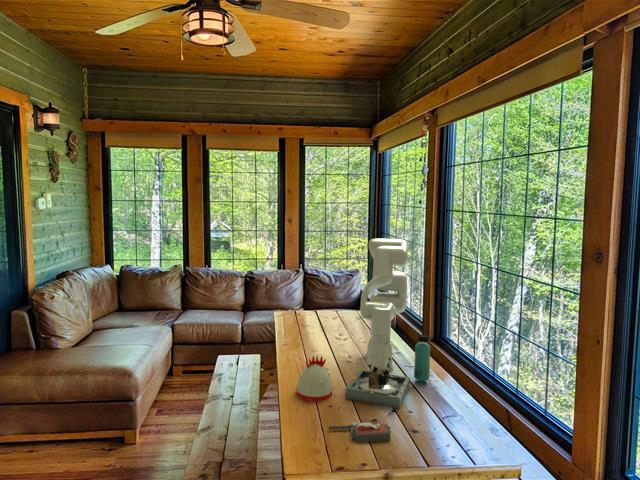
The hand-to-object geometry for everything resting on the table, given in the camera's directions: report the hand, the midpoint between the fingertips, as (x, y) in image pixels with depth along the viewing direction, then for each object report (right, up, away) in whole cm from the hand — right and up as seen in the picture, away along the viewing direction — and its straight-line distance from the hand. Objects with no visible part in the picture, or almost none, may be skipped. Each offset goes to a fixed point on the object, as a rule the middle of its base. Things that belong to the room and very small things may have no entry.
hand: (378, 382), depth 174 cm
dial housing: (0, -4, 0) cm, 4 cm away
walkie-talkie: (-10, -7, -32) cm, 34 cm away
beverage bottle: (+20, -4, +12) cm, 23 cm away
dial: (0, -2, 0) cm, 2 cm away
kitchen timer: (-26, -4, -1) cm, 26 cm away
